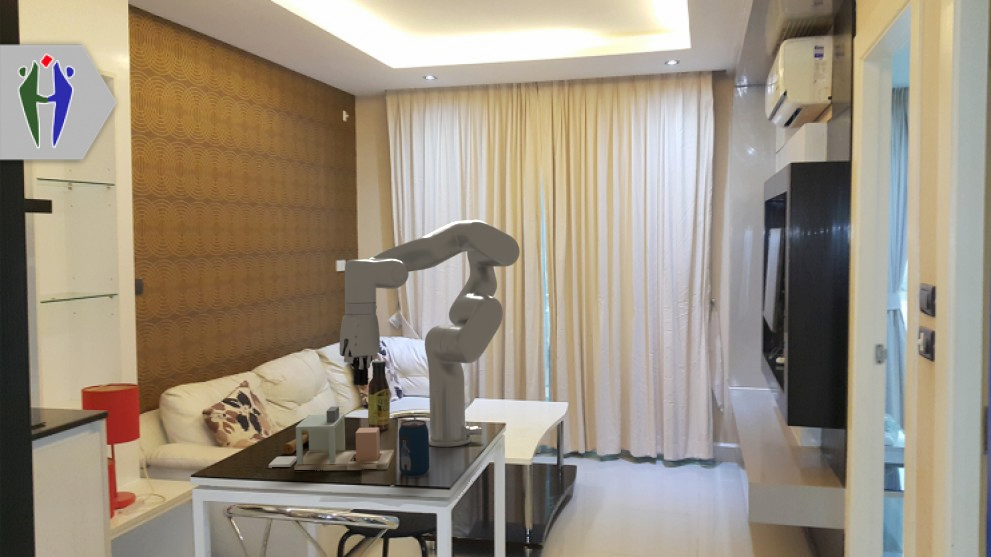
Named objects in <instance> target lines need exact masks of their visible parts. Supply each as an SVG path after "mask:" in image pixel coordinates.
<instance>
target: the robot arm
mask: <svg viewBox="0 0 991 557" xmlns="http://www.w3.org/2000/svg"><path fill="white" fill-rule="evenodd" d="M464 252H465V253H466V254H467V261H468V266H469V277H468V279H467V281H466V283H465V285H464V286H463V287H462V289H461V291H459V294H458V295H457V297H456V299H455V300H454V301H453V303H452V304H451V306H450V307H449V312H448V319H449V321H450V322H451V324H452V325H451V324H439V325H436V326H434V327H431V329H430V330H429V331H428V332H427V334H426V335H425V338H424V350H425V351H424V352H425V355H426V356H425V357H426V360H427V365H428V382H429V384H428V386H429V387H428V388H429V390H428V391H429V393H428V394H429V396H428V397H429V446H433V447H438V448H439V447H441V448H442V447H443V448H444V447H446V448H447V447H449V448H450V447H459V446H463V445H466V444H469V443H470V442H471V441H472V436H473V435H474V436H482V434H483V428H482V427H478V426H468V424H467V423H468V422H467V421H466V407H465V406H466V404H465V403H466V402H465V401H466V400H465V394H466V393H465V392H466V391H465V374H464V368H463V365H462V364H472V363H474V362H476V361H478V360H479V359H480V358H481V357H482V355H483V354H484V353H485V351H486V349H487V347H488V346H489V344H490V343H491V341H492V339H493V338H494V337H495V335H496V334H497V331H498V329H499V328H500V326H501V324H502V321H503V313H504V310H503V309H504V308H503V306H502V304H501V301H499V300H498V299H497V298H496V297H495V295H496V292H497V289H498V281H497V276H496V272H495V267H496V268H497V267H499V268H500V267H501V268H502V267H503V268H504V267H510V266H513V265H514V264H515V263H516V262H517V261H518V259H519V257H520V253H521V252H520V246H519V244H518V241H517V240H516V239H515V238H514V237H513V236H511V235H509V234H508V233H506V232H504V231H502V230H500V229H498V228H496V227H494V226H493V225H491V224H490V223H487V222H484V221H482V220H478V219H471V220H470V219H469V220H456V221H452V222H449V223H447V224H445V225H443V226H441V227H439V228H437V229H435V230H433V231H432V232H429V233H427V234H425V235H424V236H421V237H419V238H416V239H413V240H410V241H408V242H405V243H402V244H400V245H396V246H393V247H390V248H387V249H386V250H383V251H381V252H379V253H377V254H375V255H373V256H371V257H369V258H368V259H350V260H347V261H346V262H345V264H344V311H345V312H344V315H343V316H342V320H341V324H340V325H341V326H340V332H339V356H341V357H343V362H344V363H347V364H350V365H351V369H353V385H355V386H362V387H364V386H369V369H370V368H371V364H372V361H375V360H376V359H377V358H378V353H379V352H380V349H381V348H380V347H381V345H380V344H381V340H380V338H381V337H380V336H381V335H380V324H379V319H378V315H377V308H378V305H377V289H385V290H386V289H387V290H388V289H389V290H393V289H398V288H400V287H403V286H404V285H405V284H406V283H407V282H408V278H409V273H410V272H416V271H417V272H418V271H424V270H428V269H433V268H434V267H437V266H439V265H441V264H442V263H444V262H446V261H447V260H450V259H452V258H453V257H455V256H458V255H459V254H461V253H464Z"/></svg>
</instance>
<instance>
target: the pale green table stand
mask: <svg viewBox="0 0 991 557" xmlns="http://www.w3.org/2000/svg"><path fill="white" fill-rule="evenodd" d="M345 424H346V423H345V414H344V413H340V406H330V407H329V408H328V409H327V410H326V414H325V413H324V414H308V415H307V416H306V417H305V418H304V419H303V420H301V422H299V423H298V424H297V425H296V426H295V439H296V450H295V451H296V452H295V453H296V456H297V460H296V464H302V463H303V456H304V444H303V439H302V430H309V439H308V451H329V459H330V464H332V463H335V462H336V454H335V451H346V439H345V438H346V430H345V429H346V427H345Z"/></svg>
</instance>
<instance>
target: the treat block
mask: <svg viewBox="0 0 991 557" xmlns="http://www.w3.org/2000/svg"><path fill="white" fill-rule="evenodd" d="M380 439H381V438H380V430H379V428H369V427H359V428H358V429H357V430H356V432H355V451H356V458H355V461H379V459H380V450H381V444H380V441H381V440H380Z"/></svg>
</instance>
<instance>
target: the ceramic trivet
mask: <svg viewBox="0 0 991 557" xmlns="http://www.w3.org/2000/svg"><path fill="white" fill-rule="evenodd" d="M295 462H297V455H296V456H295V455H294V456H293V455H292V456H290V455H289V456H287V455H286V456H276V457H275V458H274V459H273V460H272V461H271V462H270V463H269V464H268V469H273V468H272V467H292V466H293V464H295Z"/></svg>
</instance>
